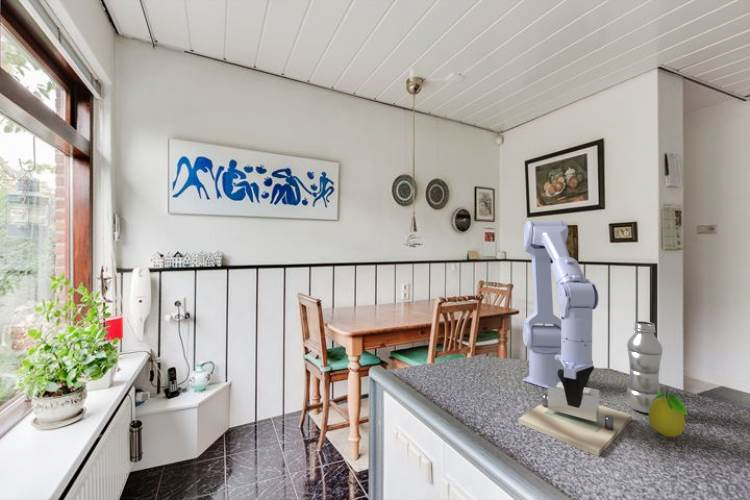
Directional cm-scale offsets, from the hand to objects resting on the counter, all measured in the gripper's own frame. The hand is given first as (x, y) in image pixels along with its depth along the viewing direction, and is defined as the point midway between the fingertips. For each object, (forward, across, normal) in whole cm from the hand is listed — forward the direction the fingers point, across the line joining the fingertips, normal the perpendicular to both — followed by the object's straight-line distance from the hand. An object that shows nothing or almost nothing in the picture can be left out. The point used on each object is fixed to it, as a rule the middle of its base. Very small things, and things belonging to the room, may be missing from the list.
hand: (575, 401), depth 74 cm
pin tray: (+4, 0, 0) cm, 4 cm away
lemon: (+4, -4, +15) cm, 16 cm away
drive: (+2, 0, 0) cm, 2 cm away
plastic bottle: (+4, -15, +11) cm, 19 cm away
